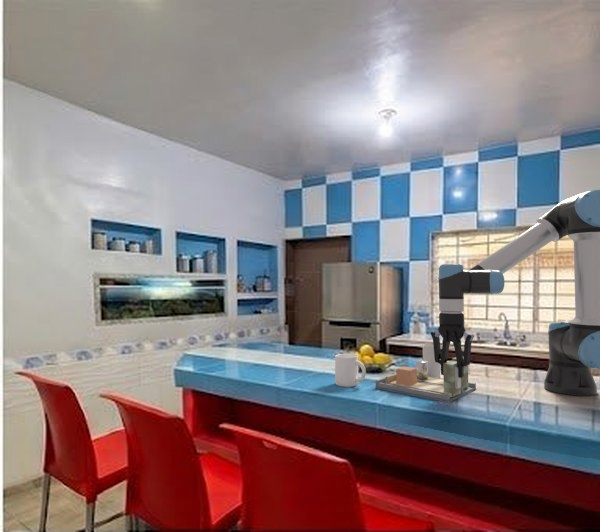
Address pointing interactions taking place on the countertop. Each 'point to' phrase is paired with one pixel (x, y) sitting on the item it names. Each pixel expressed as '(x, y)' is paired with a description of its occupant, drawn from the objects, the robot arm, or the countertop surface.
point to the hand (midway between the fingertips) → (452, 386)
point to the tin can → (422, 369)
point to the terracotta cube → (406, 376)
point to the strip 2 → (441, 381)
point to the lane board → (421, 393)
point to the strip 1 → (447, 389)
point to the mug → (348, 370)
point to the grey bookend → (431, 361)
